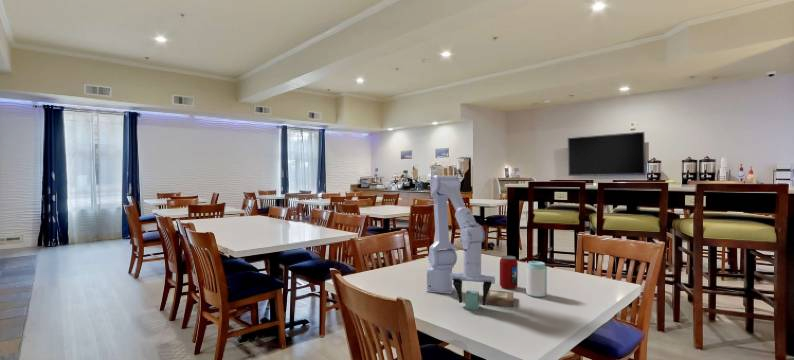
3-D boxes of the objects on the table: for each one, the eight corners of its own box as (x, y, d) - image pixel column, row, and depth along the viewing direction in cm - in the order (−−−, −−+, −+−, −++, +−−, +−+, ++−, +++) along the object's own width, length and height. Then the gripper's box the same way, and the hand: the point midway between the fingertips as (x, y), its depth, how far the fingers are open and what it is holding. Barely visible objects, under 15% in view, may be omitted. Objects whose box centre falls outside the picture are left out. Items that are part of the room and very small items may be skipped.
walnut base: (482, 303, 132) (482, 297, 132) (485, 295, 141) (485, 289, 141) (513, 306, 129) (513, 300, 129) (513, 297, 138) (513, 291, 138)
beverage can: (518, 290, 147) (518, 259, 147) (500, 289, 149) (500, 258, 149) (516, 285, 154) (516, 255, 154) (499, 284, 155) (499, 255, 155)
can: (523, 295, 142) (523, 262, 141) (531, 291, 147) (531, 259, 147) (541, 299, 137) (542, 265, 137) (549, 295, 142) (549, 262, 142)
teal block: (465, 308, 127) (465, 293, 127) (466, 305, 131) (466, 290, 130) (477, 310, 125) (477, 294, 125) (478, 306, 129) (478, 291, 129)
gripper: (448, 263, 126) (448, 304, 126) (494, 266, 122) (493, 309, 122) (452, 259, 133) (451, 298, 133) (495, 261, 129) (495, 302, 129)
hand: (472, 303), depth 128 cm, fingers open, 7 cm apart
